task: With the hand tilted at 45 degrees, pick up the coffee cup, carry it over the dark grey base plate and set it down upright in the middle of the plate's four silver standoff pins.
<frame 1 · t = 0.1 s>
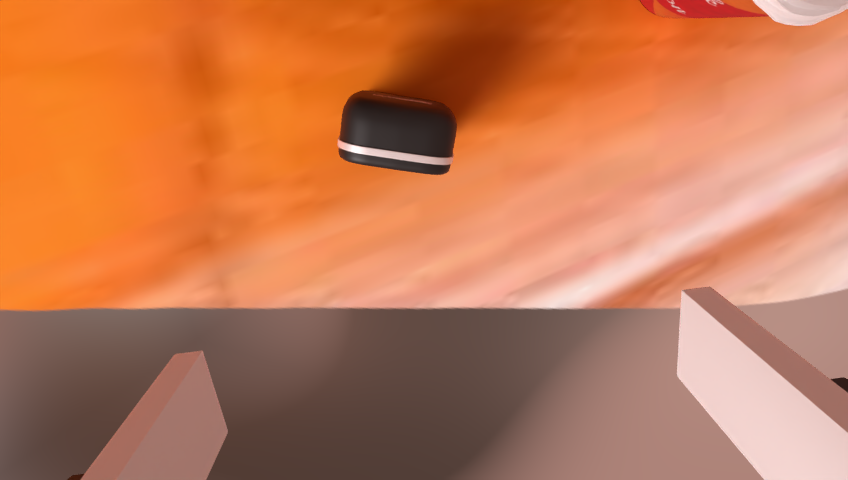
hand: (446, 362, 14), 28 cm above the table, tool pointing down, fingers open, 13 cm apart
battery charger: (398, 115, 39), on the table
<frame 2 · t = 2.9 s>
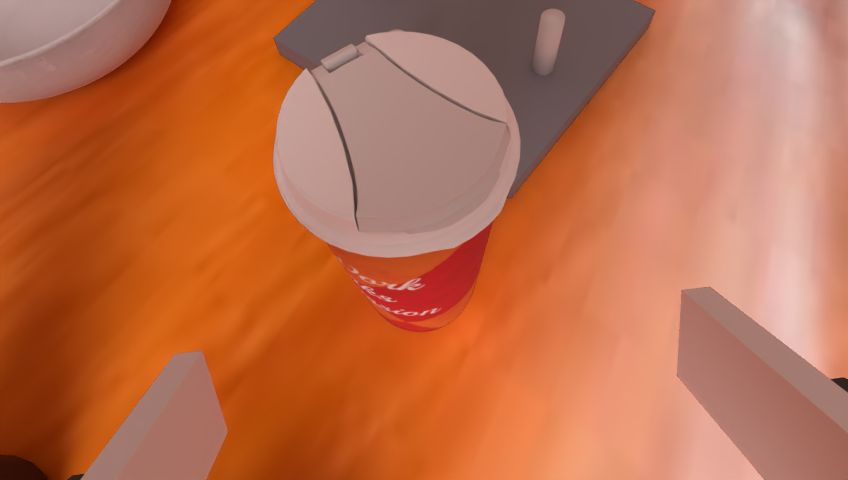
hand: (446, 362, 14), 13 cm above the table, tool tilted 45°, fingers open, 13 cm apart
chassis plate: (461, 41, 37), on the table
coffee cup: (421, 283, 30), on the table
serving bowl: (76, 32, 40), on the table
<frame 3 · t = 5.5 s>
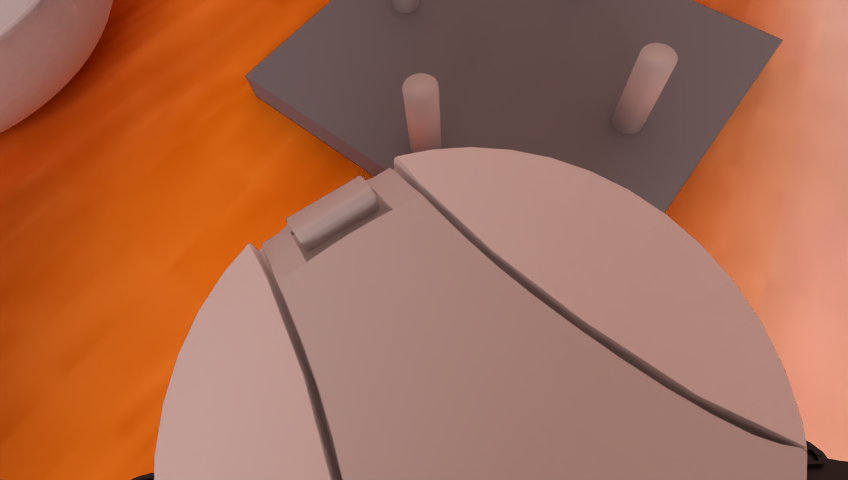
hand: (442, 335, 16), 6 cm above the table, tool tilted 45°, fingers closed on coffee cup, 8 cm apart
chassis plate: (505, 79, 27), on the table
coffee cup: (458, 460, 20), on the table, touching gripper
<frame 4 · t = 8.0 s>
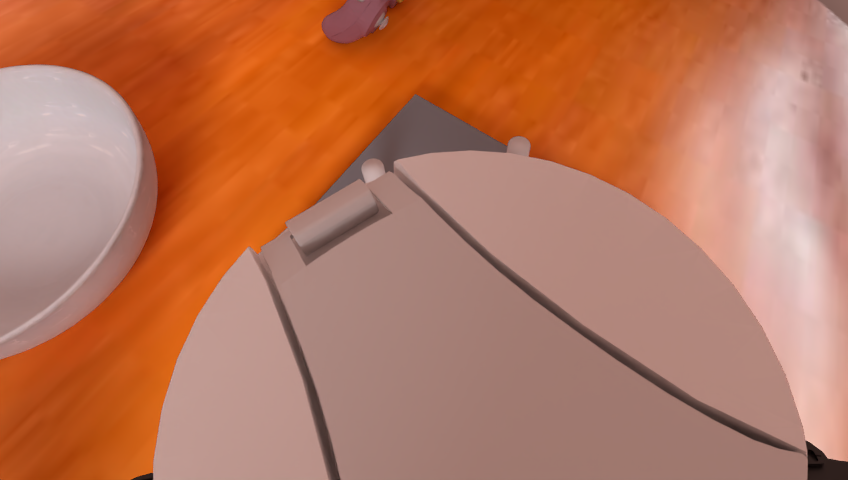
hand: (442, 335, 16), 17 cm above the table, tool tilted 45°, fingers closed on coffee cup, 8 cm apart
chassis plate: (458, 257, 35), on the table
video game controller: (380, 16, 45), on the table
coffee cup: (458, 462, 20), point 12 cm above the table, touching gripper
serving bowl: (53, 239, 38), on the table
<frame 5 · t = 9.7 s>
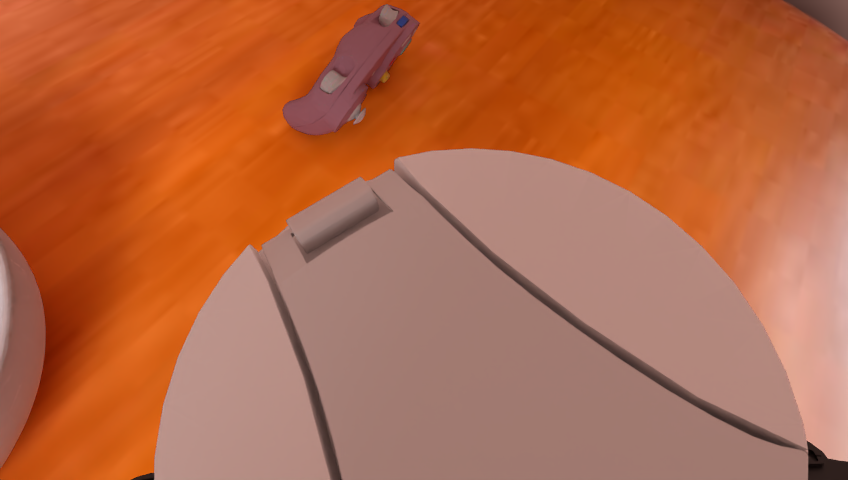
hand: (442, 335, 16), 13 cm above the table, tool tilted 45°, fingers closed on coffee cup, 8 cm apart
video game controller: (359, 97, 36), on the table
coffee cup: (458, 461, 20), point 7 cm above the table, touching gripper
when the fingers open (9 cm above the table, at t = 10.8 s): coffee cup drops 1 cm, resting on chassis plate.
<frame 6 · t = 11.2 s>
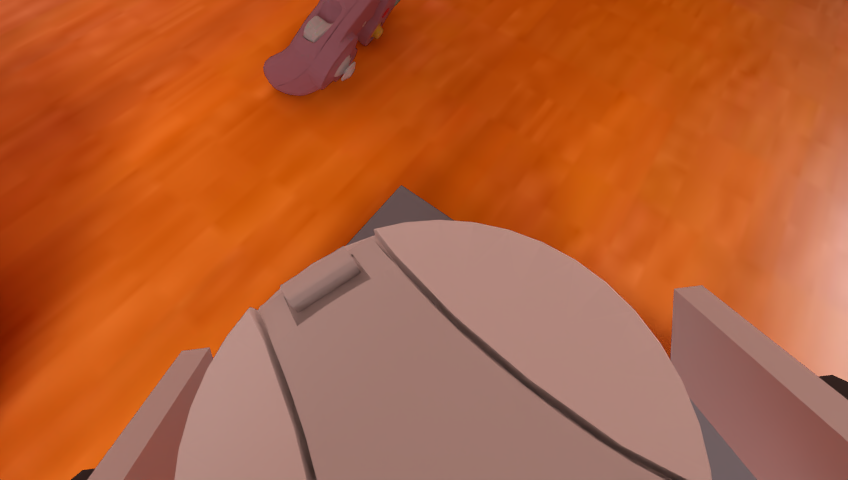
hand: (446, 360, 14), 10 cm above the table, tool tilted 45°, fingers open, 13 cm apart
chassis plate: (457, 462, 22), on the table
video game controller: (349, 56, 32), on the table
coffee cup: (457, 467, 21), point 1 cm above the table, touching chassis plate
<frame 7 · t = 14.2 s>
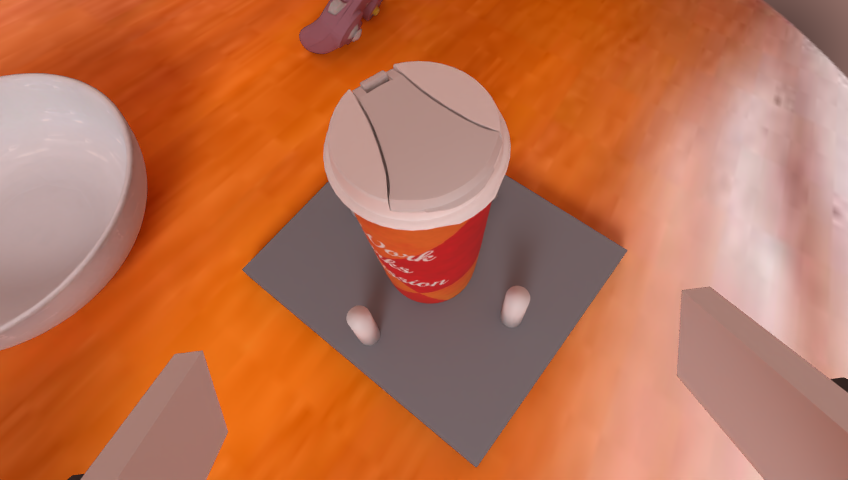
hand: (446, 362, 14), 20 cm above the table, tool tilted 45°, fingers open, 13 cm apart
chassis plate: (432, 268, 37), on the table
video game controller: (356, 28, 47), on the table
coffee cup: (431, 264, 35), point 1 cm above the table, touching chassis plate
serving bowl: (48, 240, 40), on the table
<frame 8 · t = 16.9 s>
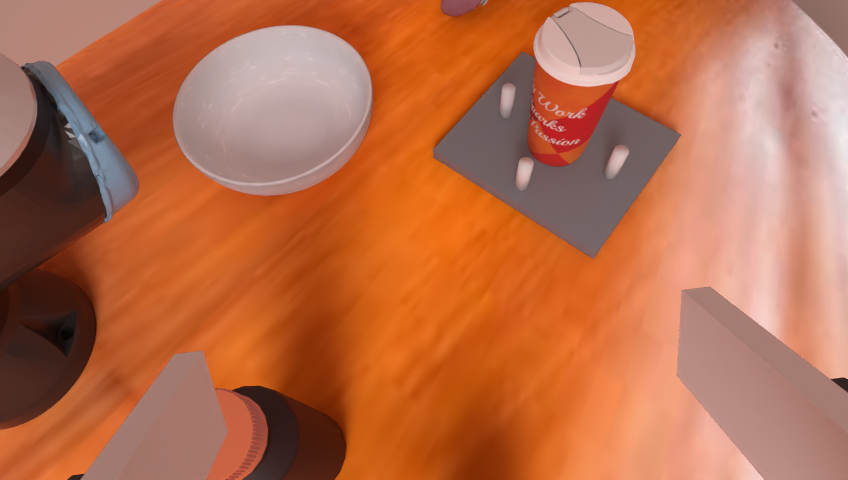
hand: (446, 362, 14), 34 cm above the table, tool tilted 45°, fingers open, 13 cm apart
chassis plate: (553, 150, 57), on the table
bottle: (308, 452, 45), on the table
coffee cup: (555, 144, 55), point 1 cm above the table, touching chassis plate
serving bowl: (291, 137, 60), on the table
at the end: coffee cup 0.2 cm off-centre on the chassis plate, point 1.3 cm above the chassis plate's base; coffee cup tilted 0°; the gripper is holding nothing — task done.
